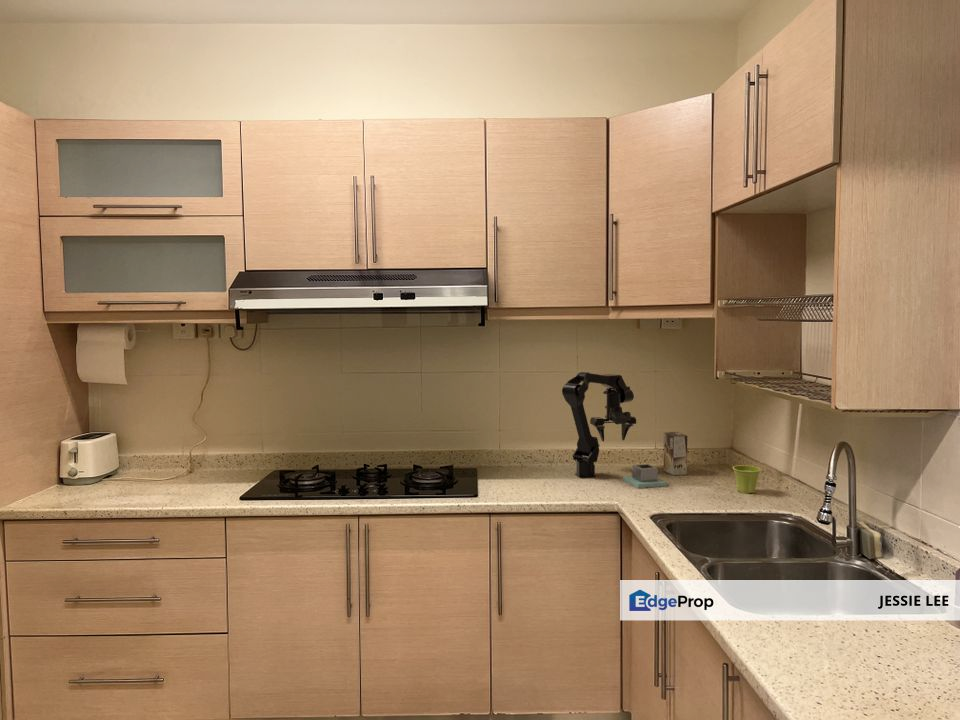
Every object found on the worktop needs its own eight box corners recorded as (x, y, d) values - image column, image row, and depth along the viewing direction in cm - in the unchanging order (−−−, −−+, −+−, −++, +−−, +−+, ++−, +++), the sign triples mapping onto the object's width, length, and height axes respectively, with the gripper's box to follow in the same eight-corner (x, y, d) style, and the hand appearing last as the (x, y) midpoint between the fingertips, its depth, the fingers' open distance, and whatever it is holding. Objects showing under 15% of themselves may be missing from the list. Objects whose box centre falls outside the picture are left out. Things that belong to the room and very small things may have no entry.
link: (640, 482, 236) (640, 469, 236) (632, 477, 243) (632, 465, 243) (657, 480, 238) (657, 468, 238) (648, 476, 245) (648, 463, 245)
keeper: (637, 488, 234) (638, 473, 233) (623, 480, 245) (623, 466, 245) (666, 486, 236) (667, 471, 236) (651, 478, 248) (651, 464, 248)
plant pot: (757, 496, 222) (758, 472, 221) (729, 492, 227) (730, 469, 226) (762, 490, 229) (762, 467, 229) (734, 486, 235) (735, 464, 234)
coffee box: (687, 474, 253) (688, 435, 252) (673, 475, 252) (673, 436, 251) (676, 469, 262) (677, 431, 261) (662, 470, 261) (663, 432, 260)
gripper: (600, 407, 252) (600, 445, 253) (642, 405, 256) (642, 443, 257) (589, 404, 263) (589, 440, 264) (630, 402, 267) (630, 438, 268)
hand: (613, 440), depth 263 cm, fingers open, 9 cm apart
